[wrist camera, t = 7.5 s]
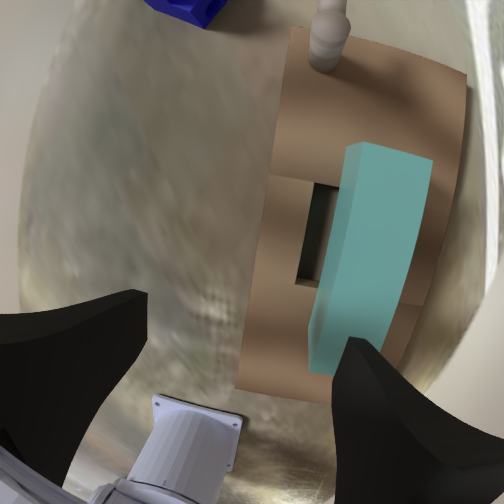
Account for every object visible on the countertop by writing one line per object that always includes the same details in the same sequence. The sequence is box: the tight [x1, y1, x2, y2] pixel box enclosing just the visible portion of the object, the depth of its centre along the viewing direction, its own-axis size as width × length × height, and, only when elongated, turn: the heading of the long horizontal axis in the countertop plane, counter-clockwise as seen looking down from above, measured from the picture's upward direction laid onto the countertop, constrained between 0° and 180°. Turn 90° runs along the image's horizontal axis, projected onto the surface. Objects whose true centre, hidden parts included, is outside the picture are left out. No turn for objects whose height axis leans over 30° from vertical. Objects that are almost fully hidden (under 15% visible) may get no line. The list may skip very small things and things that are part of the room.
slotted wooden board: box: [235, 0, 467, 404], centre depth 15 cm, size 25×11×6 cm, turn 171°
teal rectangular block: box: [308, 142, 433, 376], centre depth 15 cm, size 11×3×4 cm, turn 171°
